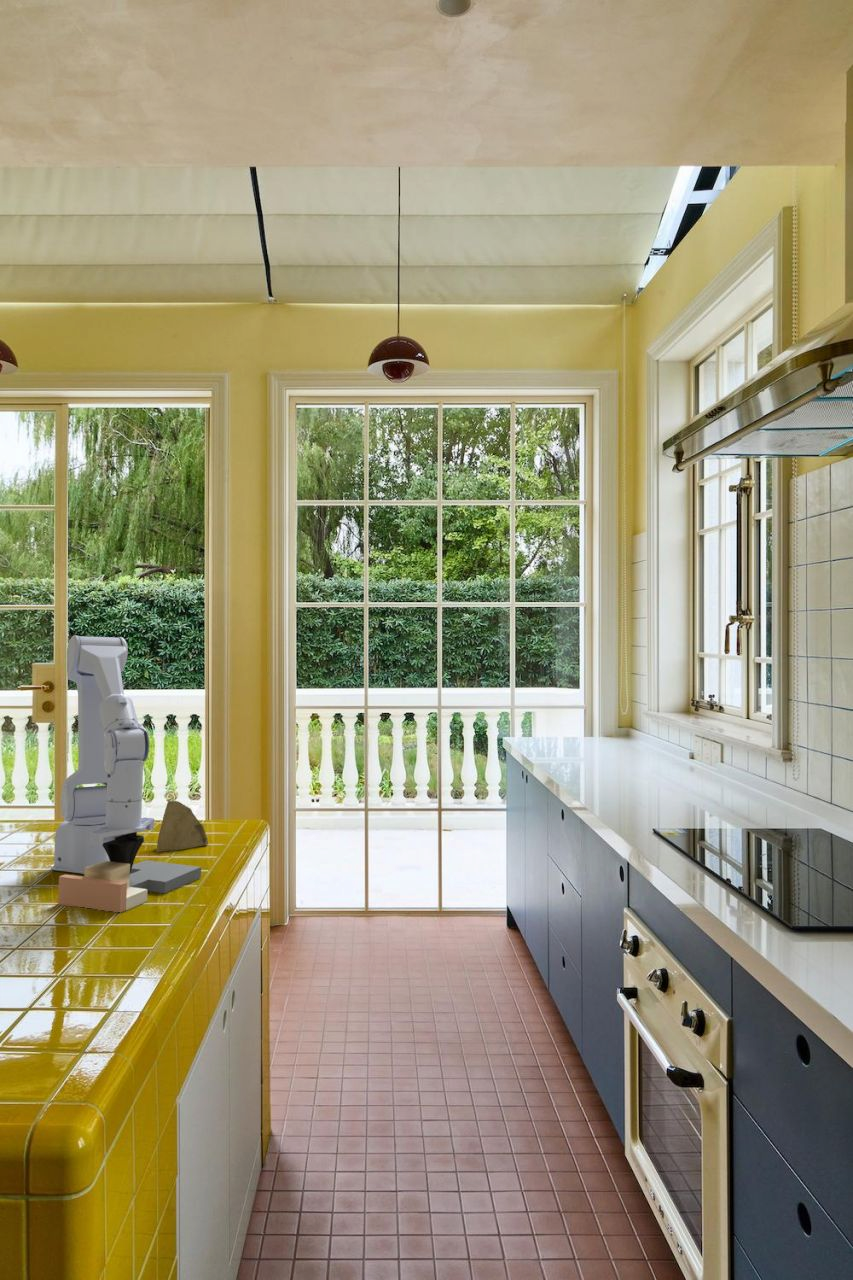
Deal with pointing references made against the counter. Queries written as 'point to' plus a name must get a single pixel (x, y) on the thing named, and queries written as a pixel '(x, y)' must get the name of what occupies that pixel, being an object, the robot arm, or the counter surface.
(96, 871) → the maple block
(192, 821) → the rock
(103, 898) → the plate
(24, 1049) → the counter surface
